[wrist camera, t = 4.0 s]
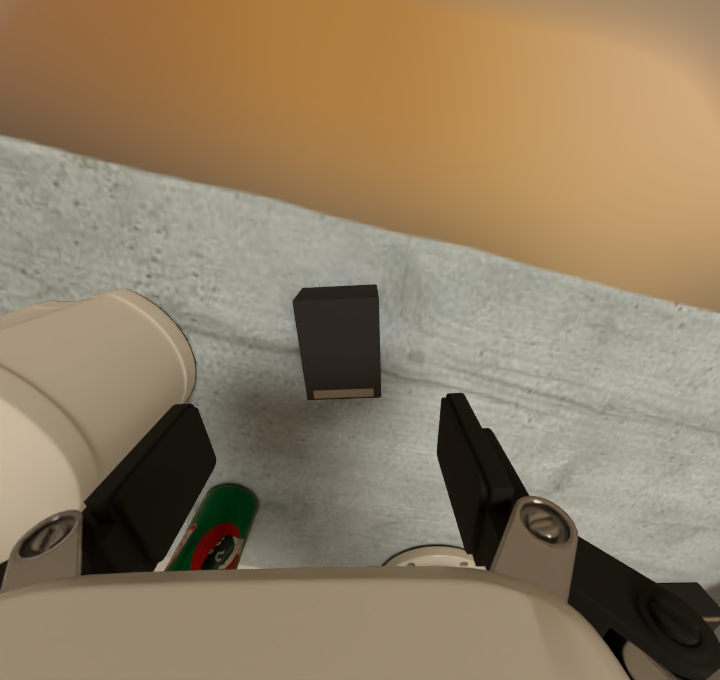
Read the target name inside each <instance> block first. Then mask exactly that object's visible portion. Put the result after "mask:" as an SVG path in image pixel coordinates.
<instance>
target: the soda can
mask: <svg viewBox="0 0 720 680" xmlns="http://www.w3.org/2000/svg"><path fill="white" fill-rule="evenodd" d="M257 510H258V506H257V502H256V500H255V498H254V496H253V495H252V493H251V492H249V491H248V490H247V489H245V488H243V487H240V486H237V485H222V486H219V487H216V488H214V489H212V490H210V491H209V492H208V493H207V494H206V496H205V498H204V499H203V501H202V503H201V505H200V507H199V508H198V510H197V512H196V514H195V516H194V518H193V519H192V521H191V523H190V525H189V527H188V528H187V530H186V532H185V534H184V536H183V537H182V539H181V541H180V543H179V545H178V547H177V548H176V550H175V552H174V554H173V556H172V557H171V559H170V561H169V563H168V565H167V567H166V568H165V570H164V571H197V570H234V569H237V567H238V564H239V562H240V559H241V556H242V553H243V550H244V547H245V544H246V542H247V539H248V536H249V533H250V530H251V527H252V525H253V522H254V519H255V516H256V513H257Z"/></svg>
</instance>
